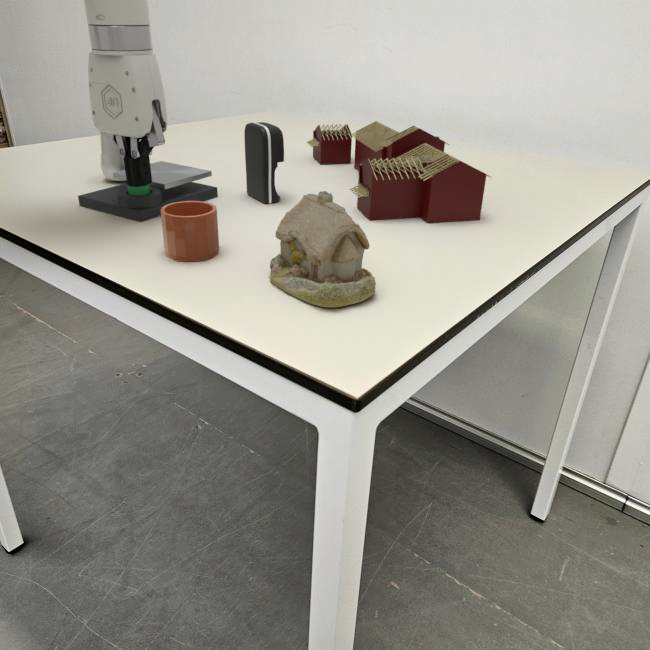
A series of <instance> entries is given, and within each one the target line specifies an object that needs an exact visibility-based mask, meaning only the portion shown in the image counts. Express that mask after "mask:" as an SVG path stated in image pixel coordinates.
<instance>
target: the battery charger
mask: <svg viewBox="0 0 650 650" xmlns="http://www.w3.org/2000/svg"><path fill="white" fill-rule="evenodd" d="M244 156H245V157H244V160H245V175H246V176H245V177H246V193H247V195H249V196H250V197H252V198H254V199H255V200H257V201H259V202H261V203H263V204H272V203H276V202H279V201H280V200H281V196H280V195H279V194H278V192H277V189H276V183H275V181H276V180H275V179H276V170H277V168H278V165H279V163H284V161H285V143H284V134H283V131H282V130H281V128H280V127H278V126H277V125H274V124H272V123H269V122H265V121H259V122H255V121H253V122H252V121H251V122H248V123H246V125H245V127H244Z"/></svg>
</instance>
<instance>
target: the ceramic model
mask: <svg viewBox="0 0 650 650" xmlns="http://www.w3.org/2000/svg"><path fill="white" fill-rule="evenodd" d="M333 197H334V196H333V193H332V192H327V190H322V191H321V190H320V191H319V192H318V193H317V194H314V193H307V194H303V196H302V198H301V199H300V201H299V202H298V203H296V204H295V205H294V206H293V207H292V208H291V209H289V211H286V212H285V214H284V216H283V217H282V218H281V220H280V221H279V224H278V226H277V228H276V231H275V238H276V239H277V240H279V241H280V242H279V244H280V245H279V246H280V253H278V254H277V255H275V256H274V257H272V258H271V259H270V264H269V269H270V275H269V279H270V282H271V284H272V285H273V286H275V287H277V288H278V289H280V290H282V291H284V292H285V293H287V294H289V295H291V296H293V297H295V298H297V299H299V300H301V301H304V302H306V303H308V304H310V305H313V306H317V307H321V308H332V309H333V308H338V307H339V308H340V307H346V306H349V305H355V304H359V303H361V302H363V301H365V300H367V299H369V298H370V297H372V296H373V295H374V294H375V292H376V291H375V289H376V285H377V282H376V278H375V276H373V274H372V273H371V271H369V270H367V269H366V268H365V267H363V259H364V253H365V250H369V248H370V242H369V240H368V237H367V234H366V232H365V231H364V230H363V229H362V228H361V226H360V224H359V223H356V221H355V220H354V219H353V218H352V217H351V215H350V214H349V213H348V212H347V211H346V208H345V207H343V206H341V205H340V204H338V203H336V202H334V198H333Z"/></svg>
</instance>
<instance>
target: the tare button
mask: <svg viewBox="0 0 650 650" xmlns="http://www.w3.org/2000/svg"><path fill="white" fill-rule="evenodd" d="M127 186H128V193H129V195H137V196H139V195H147V194H150V185H149V184H147V185H143V186H139V187H134V186H129V185H127Z"/></svg>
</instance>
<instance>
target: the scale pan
mask: <svg viewBox="0 0 650 650" xmlns="http://www.w3.org/2000/svg"><path fill="white" fill-rule="evenodd" d="M150 167H151V176H152V183H150V184H149V185H150V186H152V187H156V188H161V189H168V188H172V187H175V186H179V185H182V184H186V183H189V182H196V181H199V180H203V179H206V178H210V177H212V176H213V172H212V170H209V169H203V168H199V167H198V168H197V167H193V166H189V165H183V164H178V163H173V162H168V161H162V160H159V161H155V162H150ZM113 177H114V178H117V179H121V180H126V173H125V170H122V171H118V172H114V173H113ZM125 182H127V180H126V181H125Z"/></svg>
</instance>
